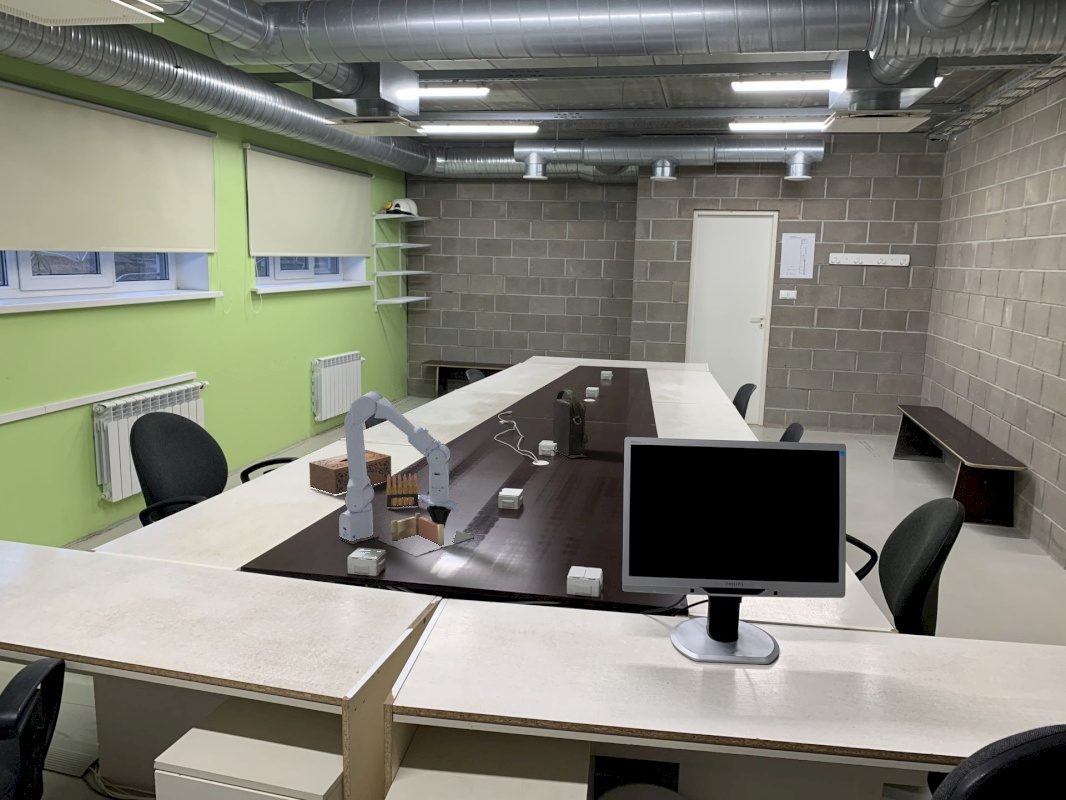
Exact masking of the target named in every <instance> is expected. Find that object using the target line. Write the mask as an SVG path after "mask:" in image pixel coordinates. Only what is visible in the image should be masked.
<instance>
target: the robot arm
mask: <svg viewBox="0 0 1066 800" xmlns="http://www.w3.org/2000/svg"><path fill="white" fill-rule="evenodd" d="M373 415H374V417H373V418H375V419H385V420H386V421H388V422H390V423H391V424H392V425H393V426H394V427H396V428H397V429H398V430H399V431H400V432H402V433H403V434H405V435H406V436H407V442H408V443H409V444H410V445H411V446H412V447H413V448H415V450H417V451H418V452H419V453H420V454H421V455H423V456H424V457H425V458H426V462H427V464H428V465H429V471H428V475H429V476H428V477H429V479H428V480H429V481H428V482H429V487H428V488H429V489H428V490H429V492H428V495H426V494H422V495H420V496H419V495H418V502H419V504H423V503H424V504H427V505H428V506H427V507H426V511H427V513H428V515H429V516H430V518H431V519H430V520H431V521H433V522H435V523H437V524H444V528H445V526H446V524H447V520H448V518H449V515H450V513H451V512H452V511H453V512H460V510H461V503H457V502H456V501H454V500H452V499H451V498H450V493H449V492H450V480H449V479H450V477H449V475H450V470H449V461H448V460H449V459H450V457H451V451H450V449H449V447H448V445H447V444H446V443H443V442H441V441H440V440H437V439H436V438H434V437H433V436H432V435H431V434H430V433H429V430H428V429H427V428H423V427H421V426H417V427H416V426H414V425H413V423H412V422H410V421H409V419H407V418H406V417H405V416H404V415H403V414H402V412H401V411H399V410H398V409H397V408H396V407H395V406H394V405H393V404H392V403H391V402H390V401H389V400H388V398H387V397H384V396H383V395H382V394H381V393H380V392H378V391H375V390H372V391H371V390H370V391H367V393H365V394H364V395H361V396H359V397H357V398H356V399H355V400H354V401H352V403H351V405H350V407H349V410H348V412H347V413H346V416H345V418H344V420H343V423H344V434H345V435H344V436H345V445H346V454H347V458H348V469H349V482H348V486H347V493H346V496H345V498H344V504H345V506H346V508H347V510H345V511H344V512H342V513H340V514H339V518H338V525H339V528H338V529H339V534H338V535H339V536H340V537H342V538H344V539H347V540H349V541H354V540H356V539H360V538H366V537H370V536H372V535H373V533H374V525H373V520H374V519H373V518H374V515H373V503H372V502H371V501H373V499H374V498H375V490H374V487H373V486H371V484H370V479H369V477H368V476H367V469H366V458H365V450H366V449H365V437H364V425H363V424H364V423H365V422H366V421H367V420H368V419H369V418H370V417H372V416H373ZM353 537H354V538H353Z"/></svg>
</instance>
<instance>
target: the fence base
mask: <svg viewBox="0 0 1066 800" xmlns="http://www.w3.org/2000/svg"><path fill="white" fill-rule="evenodd" d="M418 517H421V513H420V512H415V513H414V516H411V517H406V518H402V519H400V520H395V519H393V520H391V521H390V524H391V535H392V541H398V540H400V539H404V538H408V537H411V536H415V535H419V529H418Z"/></svg>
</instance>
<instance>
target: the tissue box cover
mask: <svg viewBox="0 0 1066 800" xmlns="http://www.w3.org/2000/svg"><path fill="white" fill-rule="evenodd" d="M365 458H366V469H367V476H368V477H369V479H370V484H371V485H374V484H378V483H381V482H384V481H387V477H388V474H389V475H390V479H391V480H392V456H391V455H388V454H385V453H380V452H376V451H373V450H372V451H371V450H369V449H365ZM308 464H309V465H308V466H309V487H313V488H316V489H319V490H323V491H326V492H329V493H332V494H339V493H342V492H346V491H347V486H348V482H349V469H348V458H347V453H345V454H341V455H336V456H332V457H327V458H323V459H319V460H314V461H309V462H308Z"/></svg>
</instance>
